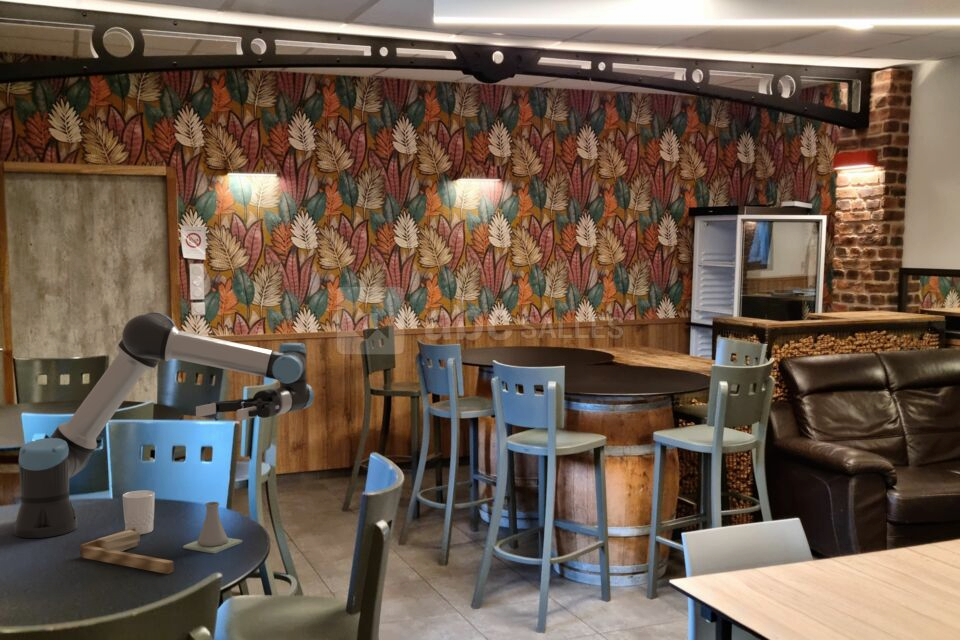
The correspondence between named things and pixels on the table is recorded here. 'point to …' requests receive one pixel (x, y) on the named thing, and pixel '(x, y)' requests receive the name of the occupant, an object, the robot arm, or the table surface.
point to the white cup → (139, 510)
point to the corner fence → (125, 557)
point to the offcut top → (118, 539)
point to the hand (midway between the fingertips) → (217, 413)
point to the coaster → (212, 548)
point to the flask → (212, 527)
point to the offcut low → (125, 546)
